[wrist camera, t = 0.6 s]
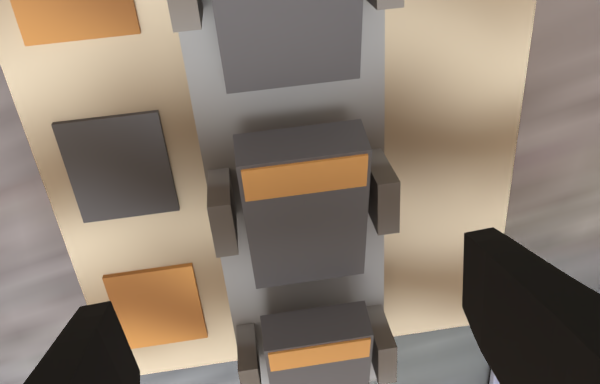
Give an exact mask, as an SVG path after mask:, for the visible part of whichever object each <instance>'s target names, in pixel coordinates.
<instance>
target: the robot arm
mask: <svg viewBox="0 0 600 384" xmlns="http://www.w3.org/2000/svg"><path fill="white" fill-rule="evenodd" d="M462 308H463V310H464V313H465V315H466V318H467V320H468V323H469V325H470V327H471V330H472V332H473V334H474V337H475V339H476V341H477V343H478V346H479V348H480V350H481V352H482V354H483V356H484V357H485V359H486V361H487V363H488V364H489V366H490V368H491V375H490V382H489V384H600V294H599V293H597V292H595V291H594V290H592V289H590V288H588V287H587V286H585V285H583V284H582V283H580V282H578V281H577V280H575V279H574V278H572V277H570V276H569V275H567V274H565V273H564V272H562V271H561V270H559V269H557V268H556V267H554V266H553V265H551V264H550V263H548V262H546V261H545V260H543V259H542V258H540V257H539V256H537V255H536V254H534V253H533V252H531V251H529V250H528V249H526V248H525V247H523V246H522V245H520V244H519V243H517V242H516V241H514V240H513V239H511V238H510V237H508V236H507V235H505V234H503V233H502V232H500V231H499V230H497V229H495V228H494V227H492V228H486V229H481V230H476V231H471V232H466V233H464V256H463V291H462ZM23 384H140V369H139V367H138V365H137V362H136V360H135V357H134V355H133V353H132V350H131V348H130V346H129V343H128V341H127V338H126V336H125V334H124V331H123V329H122V326H121V324H120V322H119V319H118V317H117V314H116V312H115V310H114V307H113V305H112V302H111V301H107V302H102V303H97V304H91V305H86V306H81V307H79V309H78V310H77V311H76V313H75V314H74V315H73V317H72V318H71V319H70V321H69V322H68V324H67V325H66V326H65V328H64V329H63V330H62V332H61V333H60V334H59V336H58V337H57V339H56V340H55V341H54V343H53V344H52V346H51V347H50V348H49V350H48V351H47V352H46V354H45V355H44V357H43V358H42V359H41V361H40V362H39V363H38V365H37V366H36V367H35V369H34V370H33V371H32V373H31V374H30V375H29V377H28V378H27V379H26V381H25V382H24V383H23Z"/></svg>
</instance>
